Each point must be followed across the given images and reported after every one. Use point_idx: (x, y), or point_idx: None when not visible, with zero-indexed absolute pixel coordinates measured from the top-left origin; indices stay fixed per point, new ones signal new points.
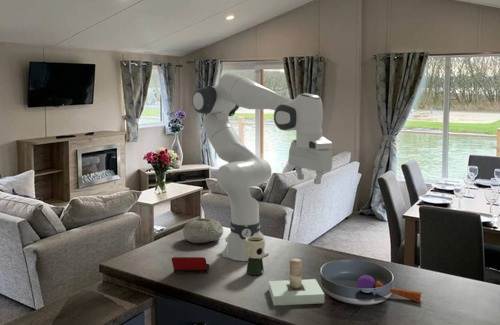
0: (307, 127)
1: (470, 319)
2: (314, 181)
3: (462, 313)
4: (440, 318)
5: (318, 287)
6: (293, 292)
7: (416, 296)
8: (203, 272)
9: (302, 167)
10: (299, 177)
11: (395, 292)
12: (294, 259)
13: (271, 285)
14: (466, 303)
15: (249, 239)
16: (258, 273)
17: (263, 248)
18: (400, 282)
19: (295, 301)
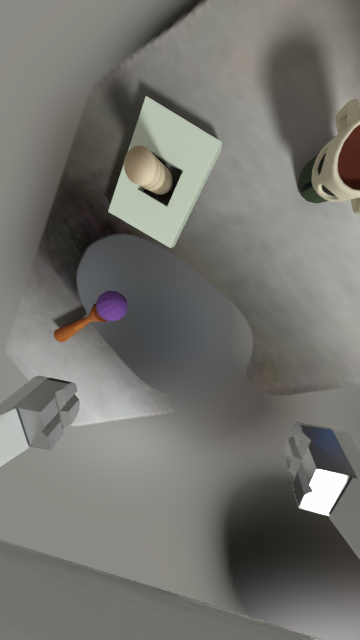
0: None
1: (11, 335)
2: (53, 390)
3: (25, 342)
4: (22, 312)
5: (136, 223)
6: None
7: (57, 330)
8: None
9: (212, 621)
10: (312, 439)
11: (79, 320)
12: (149, 169)
13: (197, 131)
14: (43, 367)
15: None
16: (301, 174)
17: (321, 179)
18: (121, 364)
19: None
